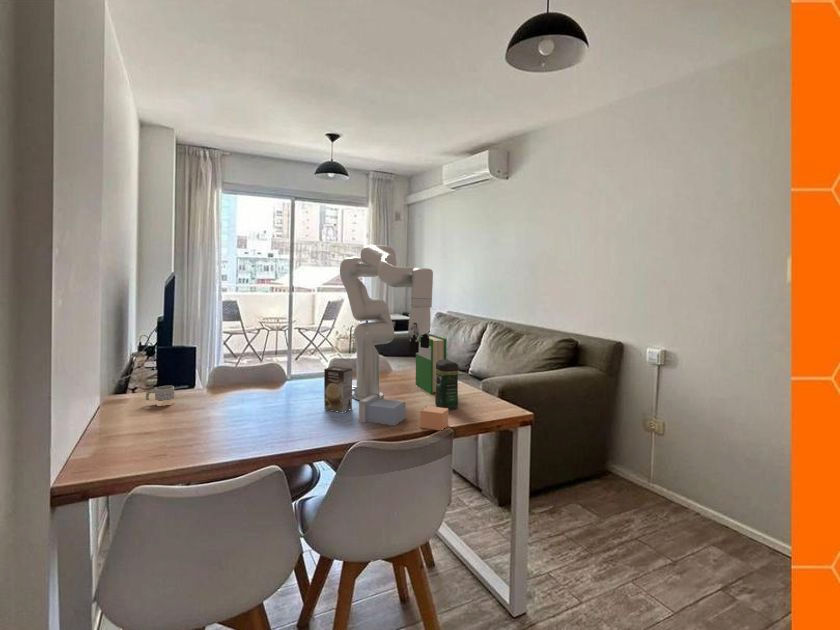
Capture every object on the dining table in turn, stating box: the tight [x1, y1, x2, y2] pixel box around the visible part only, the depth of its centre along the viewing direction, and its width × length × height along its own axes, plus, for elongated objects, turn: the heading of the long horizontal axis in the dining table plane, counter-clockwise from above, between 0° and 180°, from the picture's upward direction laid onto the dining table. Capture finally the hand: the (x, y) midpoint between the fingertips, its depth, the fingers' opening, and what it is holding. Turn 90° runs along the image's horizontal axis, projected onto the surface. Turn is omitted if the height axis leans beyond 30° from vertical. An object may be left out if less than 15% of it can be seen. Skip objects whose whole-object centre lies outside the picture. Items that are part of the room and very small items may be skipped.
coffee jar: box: [434, 359, 459, 411], centre depth 179 cm, size 10×8×19 cm
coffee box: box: [323, 365, 353, 413], centre depth 174 cm, size 9×6×16 cm
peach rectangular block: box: [419, 405, 449, 431], centre depth 156 cm, size 8×6×6 cm
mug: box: [145, 385, 175, 401], centre depth 179 cm, size 10×7×7 cm, turn 108°
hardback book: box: [415, 333, 448, 395], centre depth 206 cm, size 18×7×24 cm, turn 22°
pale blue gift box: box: [358, 394, 407, 427], centre depth 163 cm, size 14×11×7 cm
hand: (419, 350), depth 165 cm, fingers open, 9 cm apart
